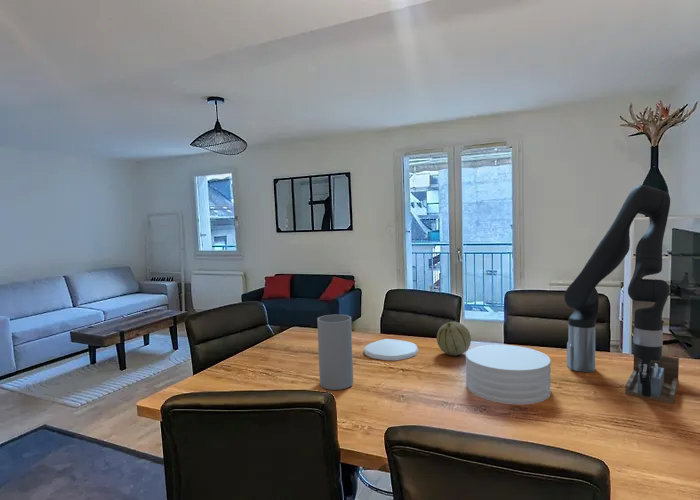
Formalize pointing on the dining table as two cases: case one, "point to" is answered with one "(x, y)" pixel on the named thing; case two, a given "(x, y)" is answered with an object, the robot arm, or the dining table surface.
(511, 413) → the dining table surface
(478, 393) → the plate stack
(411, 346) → the decorative plate
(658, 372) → the caddy
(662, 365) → the shelf
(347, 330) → the cylinder vase
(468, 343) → the cantaloupe
